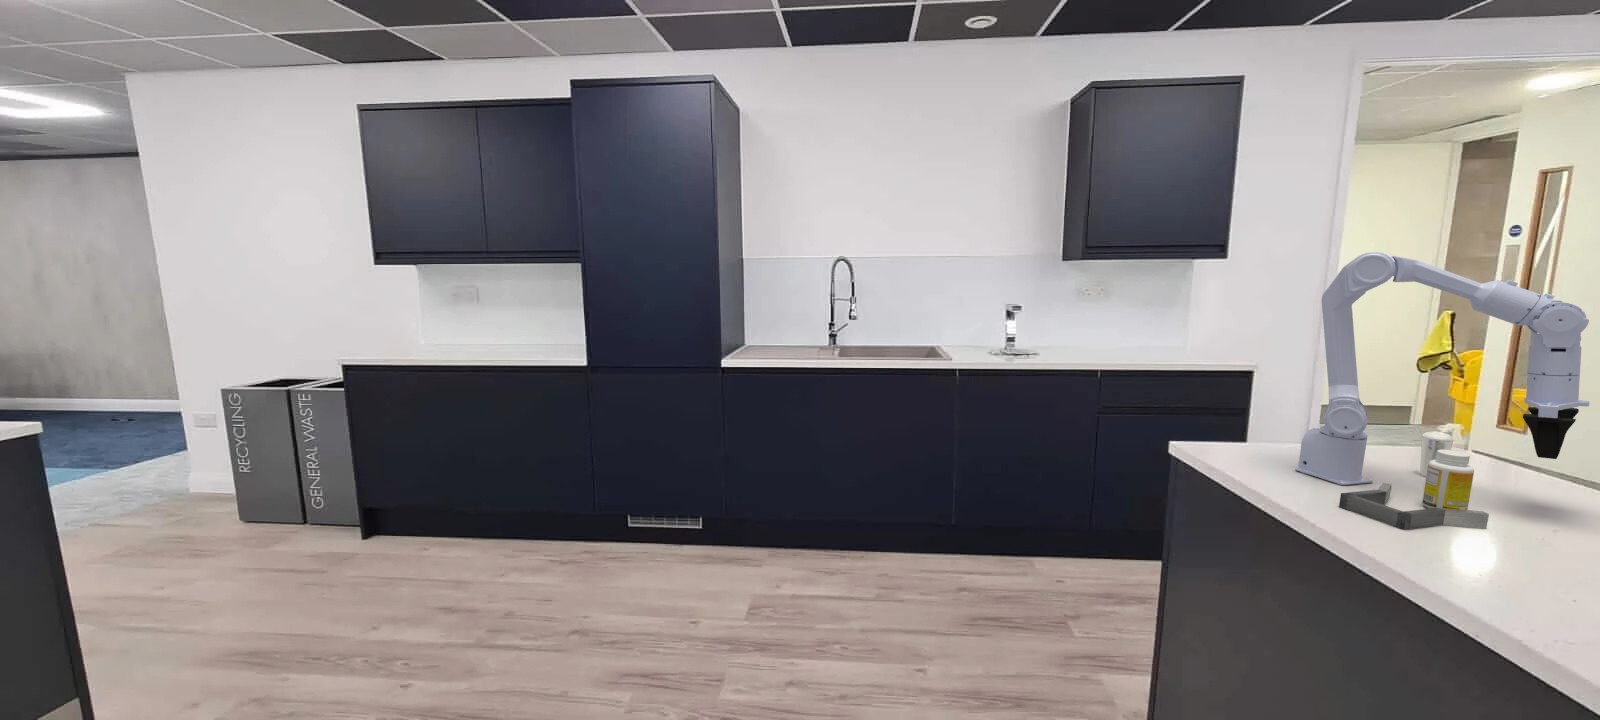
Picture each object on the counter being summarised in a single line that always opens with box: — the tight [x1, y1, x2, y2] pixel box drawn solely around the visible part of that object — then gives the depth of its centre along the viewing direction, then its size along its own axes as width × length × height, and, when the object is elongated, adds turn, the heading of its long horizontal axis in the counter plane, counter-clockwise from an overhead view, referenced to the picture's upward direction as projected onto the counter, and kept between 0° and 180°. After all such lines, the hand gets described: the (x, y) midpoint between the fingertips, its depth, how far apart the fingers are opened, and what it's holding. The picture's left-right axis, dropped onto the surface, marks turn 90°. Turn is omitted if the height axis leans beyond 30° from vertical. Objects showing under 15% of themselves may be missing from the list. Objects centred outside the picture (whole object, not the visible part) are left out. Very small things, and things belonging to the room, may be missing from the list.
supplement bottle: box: [1422, 449, 1475, 510], centre depth 110 cm, size 6×6×10 cm
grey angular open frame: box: [1338, 482, 1490, 531], centre depth 109 cm, size 15×14×2 cm
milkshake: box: [1417, 425, 1455, 478], centre depth 128 cm, size 4×5×10 cm
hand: (1548, 453), depth 109 cm, fingers open, 7 cm apart
